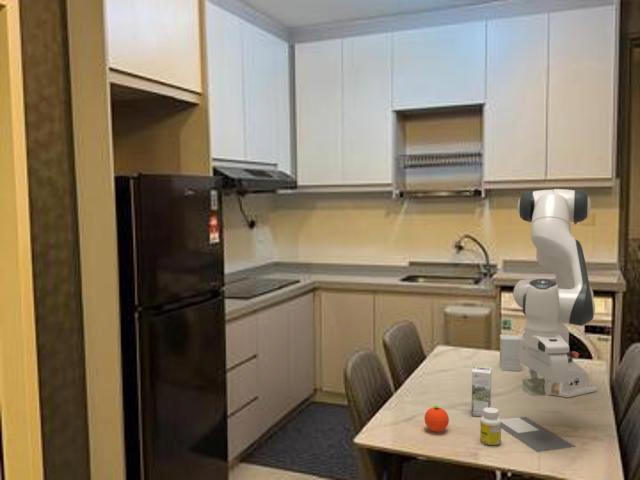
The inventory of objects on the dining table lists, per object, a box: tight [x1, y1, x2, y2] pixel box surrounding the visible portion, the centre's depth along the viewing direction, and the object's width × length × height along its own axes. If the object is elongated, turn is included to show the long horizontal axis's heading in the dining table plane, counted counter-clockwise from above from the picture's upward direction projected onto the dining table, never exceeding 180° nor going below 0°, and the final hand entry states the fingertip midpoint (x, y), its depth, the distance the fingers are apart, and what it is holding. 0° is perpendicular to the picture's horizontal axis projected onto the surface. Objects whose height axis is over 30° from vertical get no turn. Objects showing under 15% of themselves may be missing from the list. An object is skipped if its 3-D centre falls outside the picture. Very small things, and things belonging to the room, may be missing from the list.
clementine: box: [424, 405, 450, 433], centre depth 167 cm, size 8×7×7 cm
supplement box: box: [499, 334, 521, 372], centre depth 227 cm, size 7×7×13 cm
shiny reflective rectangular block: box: [522, 378, 559, 397], centre depth 158 cm, size 8×5×3 cm, turn 98°
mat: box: [500, 416, 576, 453], centre depth 163 cm, size 12×22×1 cm, turn 16°
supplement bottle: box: [479, 407, 502, 448], centre depth 157 cm, size 5×5×10 cm
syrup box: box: [470, 366, 493, 418], centre depth 178 cm, size 6×6×14 cm
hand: (540, 388), depth 159 cm, fingers closed on shiny reflective rectangular block, 5 cm apart
